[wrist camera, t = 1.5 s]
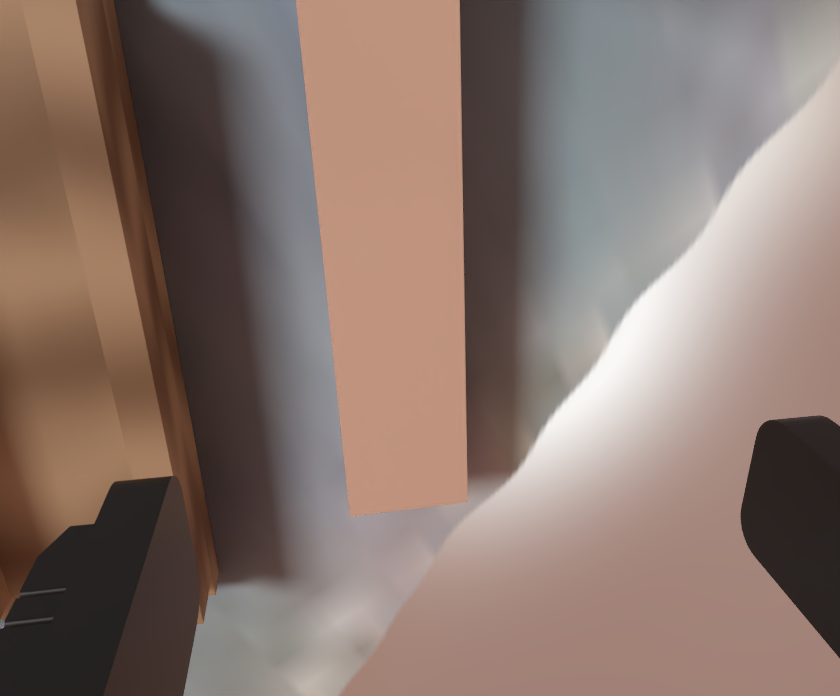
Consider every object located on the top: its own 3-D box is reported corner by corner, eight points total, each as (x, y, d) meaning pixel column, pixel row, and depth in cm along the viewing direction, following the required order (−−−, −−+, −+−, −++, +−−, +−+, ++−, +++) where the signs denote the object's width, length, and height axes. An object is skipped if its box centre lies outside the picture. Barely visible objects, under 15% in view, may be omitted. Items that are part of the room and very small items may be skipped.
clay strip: (287, -98, 19) (282, -125, 16) (430, -102, 20) (457, -129, 16) (344, 450, 27) (350, 516, 24) (447, 439, 28) (467, 501, 24)
